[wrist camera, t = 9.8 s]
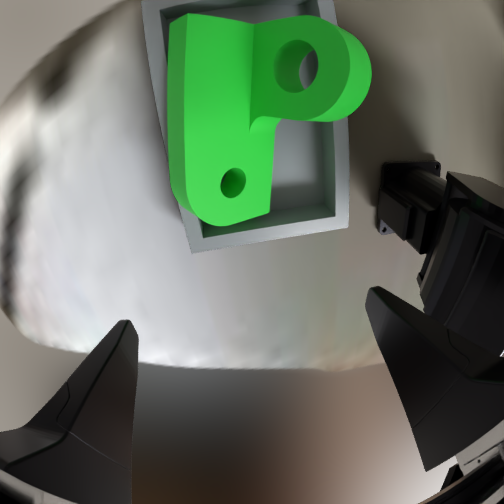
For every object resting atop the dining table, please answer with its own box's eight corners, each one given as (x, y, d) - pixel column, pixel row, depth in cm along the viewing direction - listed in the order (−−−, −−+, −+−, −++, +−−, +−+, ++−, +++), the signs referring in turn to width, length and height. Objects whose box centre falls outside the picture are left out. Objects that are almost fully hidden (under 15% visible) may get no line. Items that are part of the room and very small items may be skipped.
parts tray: (314, -3, 12) (329, -16, 10) (333, 210, 21) (348, 227, 19) (152, 14, 12) (141, 1, 9) (194, 232, 21) (191, 253, 19)
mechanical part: (169, 23, 10) (283, -26, 5) (257, 35, 13) (373, 26, 8) (173, 225, 16) (263, 297, 11) (250, 203, 20) (344, 251, 15)
